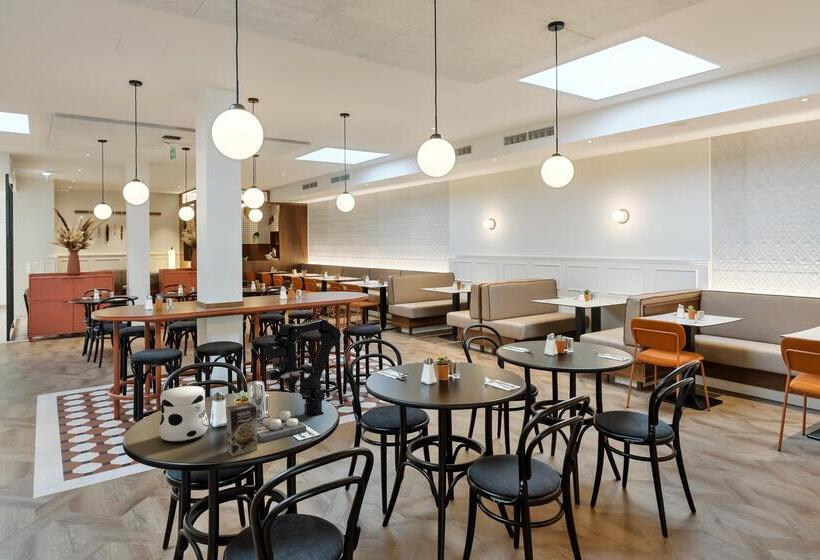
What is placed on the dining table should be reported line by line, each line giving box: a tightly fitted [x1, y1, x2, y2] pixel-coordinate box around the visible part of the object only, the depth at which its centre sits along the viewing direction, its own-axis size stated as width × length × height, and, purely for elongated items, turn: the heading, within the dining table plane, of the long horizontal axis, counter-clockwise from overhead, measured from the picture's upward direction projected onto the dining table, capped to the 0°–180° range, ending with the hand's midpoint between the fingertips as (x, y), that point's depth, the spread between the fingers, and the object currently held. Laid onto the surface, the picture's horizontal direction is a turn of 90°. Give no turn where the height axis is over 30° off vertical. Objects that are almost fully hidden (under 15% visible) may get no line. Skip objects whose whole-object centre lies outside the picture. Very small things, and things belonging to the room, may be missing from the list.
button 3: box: [278, 410, 292, 421], centre depth 209 cm, size 4×4×3 cm
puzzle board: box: [257, 416, 307, 444], centre depth 203 cm, size 18×17×3 cm
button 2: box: [269, 419, 281, 430], centre depth 199 cm, size 4×4×3 cm
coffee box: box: [225, 402, 258, 457], centre depth 183 cm, size 9×6×16 cm
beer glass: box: [247, 380, 266, 421], centre depth 218 cm, size 7×7×15 cm
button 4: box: [287, 417, 299, 428], centre depth 203 cm, size 4×4×3 cm
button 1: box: [262, 417, 275, 427], centre depth 205 cm, size 4×4×3 cm
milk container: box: [158, 385, 209, 443], centre depth 197 cm, size 17×17×18 cm
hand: (290, 392), depth 211 cm, fingers closed
